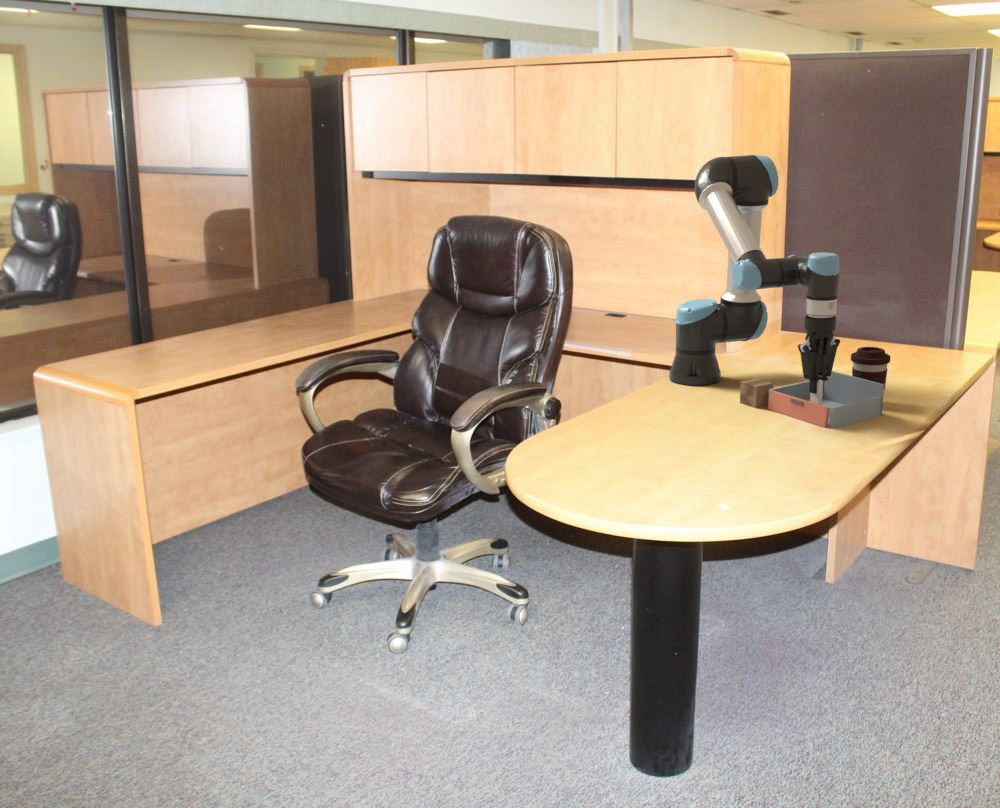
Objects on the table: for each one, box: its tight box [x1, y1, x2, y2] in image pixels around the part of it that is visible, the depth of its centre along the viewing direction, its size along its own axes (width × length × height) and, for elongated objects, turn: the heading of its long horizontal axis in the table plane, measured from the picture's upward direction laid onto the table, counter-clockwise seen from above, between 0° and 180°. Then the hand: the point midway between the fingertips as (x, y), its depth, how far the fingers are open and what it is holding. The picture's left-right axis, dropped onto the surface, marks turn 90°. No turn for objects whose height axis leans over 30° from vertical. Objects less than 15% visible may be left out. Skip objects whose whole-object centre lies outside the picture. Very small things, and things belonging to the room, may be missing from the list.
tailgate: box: [767, 390, 830, 428], centre depth 260 cm, size 20×1×5 cm, turn 30°
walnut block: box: [739, 377, 774, 409], centre depth 273 cm, size 6×6×7 cm
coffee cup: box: [850, 346, 892, 390], centre depth 272 cm, size 10×10×15 cm
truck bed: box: [768, 370, 885, 429], centre depth 264 cm, size 22×18×9 cm
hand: (815, 404), depth 263 cm, fingers closed
